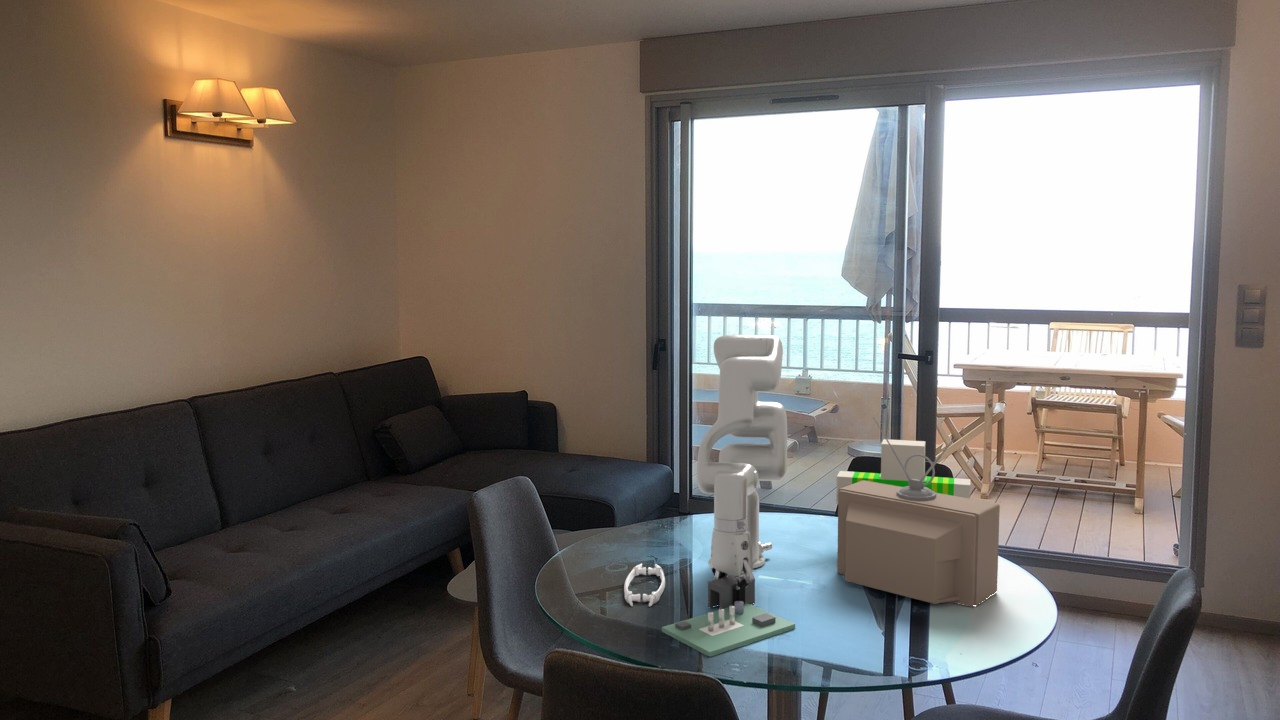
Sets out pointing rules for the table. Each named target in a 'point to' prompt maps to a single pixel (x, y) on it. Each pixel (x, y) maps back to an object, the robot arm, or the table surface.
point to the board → (728, 629)
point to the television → (918, 540)
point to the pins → (721, 618)
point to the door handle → (648, 598)
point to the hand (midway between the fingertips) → (730, 600)
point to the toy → (897, 476)
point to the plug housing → (727, 592)
